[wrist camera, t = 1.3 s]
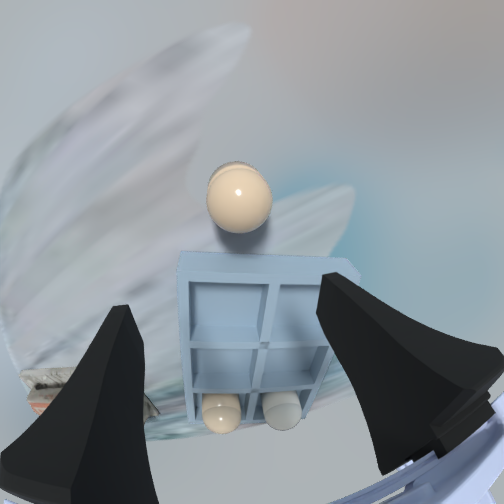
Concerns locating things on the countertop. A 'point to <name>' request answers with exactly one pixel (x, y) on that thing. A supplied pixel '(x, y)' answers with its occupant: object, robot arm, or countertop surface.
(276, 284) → the egg carton
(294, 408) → the seated egg
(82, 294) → the countertop surface
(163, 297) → the countertop surface
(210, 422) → the seated egg
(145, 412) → the packaged product
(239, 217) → the loose egg
